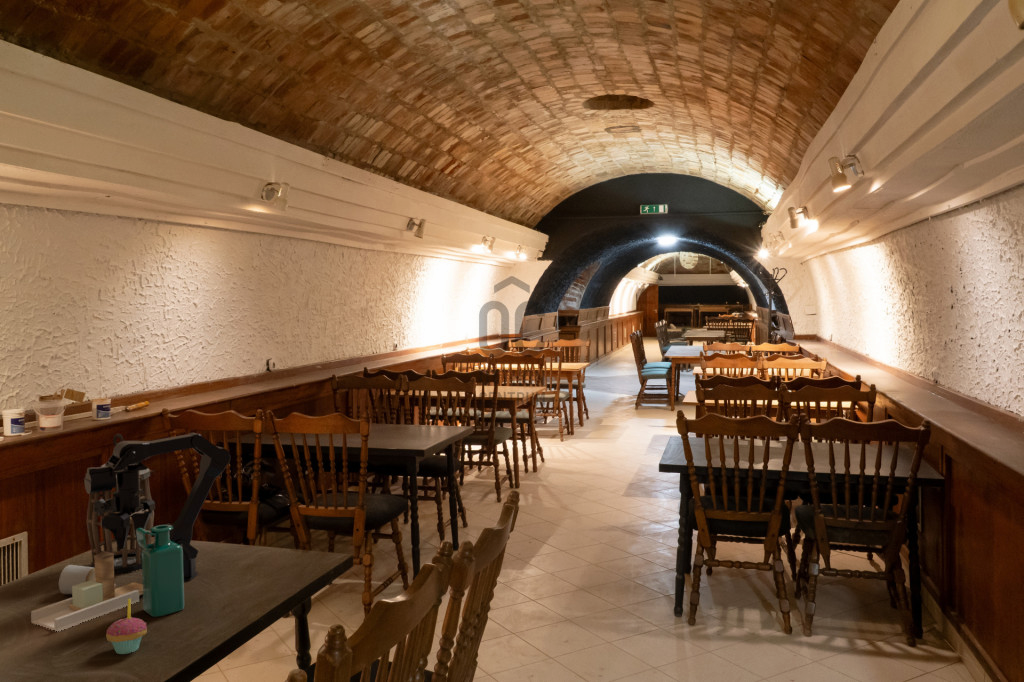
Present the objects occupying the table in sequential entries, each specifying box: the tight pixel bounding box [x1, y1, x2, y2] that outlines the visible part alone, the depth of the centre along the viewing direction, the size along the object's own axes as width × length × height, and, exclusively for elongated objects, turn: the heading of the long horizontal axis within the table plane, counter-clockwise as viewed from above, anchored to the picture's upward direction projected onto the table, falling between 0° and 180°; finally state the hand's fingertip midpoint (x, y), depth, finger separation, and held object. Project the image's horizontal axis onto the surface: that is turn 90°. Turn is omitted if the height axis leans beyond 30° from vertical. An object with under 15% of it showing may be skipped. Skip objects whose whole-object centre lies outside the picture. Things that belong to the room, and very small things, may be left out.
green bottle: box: [136, 524, 185, 618], centre depth 207 cm, size 10×8×22 cm
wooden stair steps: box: [69, 552, 143, 611], centre depth 212 cm, size 18×8×13 cm, turn 150°
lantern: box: [82, 433, 156, 575], centre depth 242 cm, size 19×19×40 cm
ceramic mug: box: [58, 564, 95, 595], centre depth 222 cm, size 11×8×8 cm
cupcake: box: [105, 595, 148, 655], centre depth 185 cm, size 9×8×12 cm
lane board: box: [30, 583, 140, 633], centre depth 207 cm, size 22×11×3 cm, turn 150°
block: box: [71, 580, 103, 609], centre depth 207 cm, size 5×5×5 cm
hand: (130, 543), depth 222 cm, fingers open, 9 cm apart
